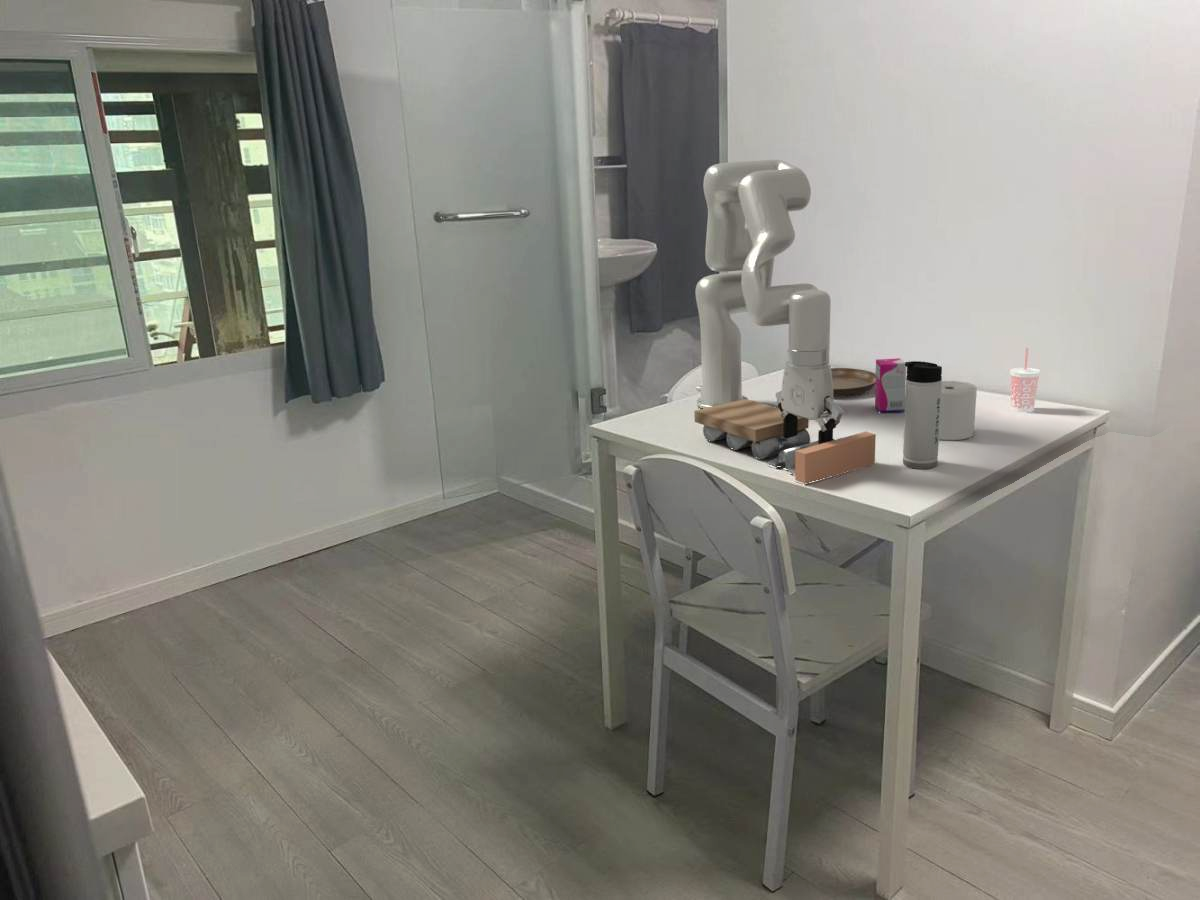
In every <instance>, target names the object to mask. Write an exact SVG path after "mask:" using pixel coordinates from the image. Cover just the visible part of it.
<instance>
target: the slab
mask: <svg viewBox="0 0 1200 900" xmlns="http://www.w3.org/2000/svg"><path fill="white" fill-rule="evenodd" d="M693 414H694V423H698V424H699V425H703V426H704V425H706V426H709V427H712V428H715V429H718V430H721V431H724V432H727V433H730V434H733V435H736V436H739V437H742V438H745V439H748V440H751V441H754V442H758V441H760V440H763V439H767V438H771V437H775V436H778V435H782V434H783V419H784V418H782V417H781V411H780V409H779V407H776V406H773V405H769V404H765V403H762V402H757V401H755V400H754V401H753V400H750V399H748V400H747V399H743V400H738V401H734V402H730V403H726V404H721V405H717V406H713V407H708V408H704V409H702V408H700V409H697V410H694V413H693ZM794 416H796V415H794ZM797 418H798V428H797V430H801V429H806V430H807V429H809V425H810V424H809V419H806V418H802V417H799V416H797Z"/></svg>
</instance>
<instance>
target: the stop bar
mask: <svg viewBox="0 0 1200 900" xmlns="http://www.w3.org/2000/svg"><path fill="white" fill-rule="evenodd" d="M876 436H877V435H876V433H873V432H868V431H862V432H859V433H855V434H852V435H846V436H844V437H840V438H838V439H837V438H836V439H834V440H833V441H829V442H826V443H822V444H818V445H815V446H811V447H808V448H804V449H800V450H797V451H795V476H794V477H795V479H794V480H797V481H799V482H802V483H804V484H805V483H809V482H812V481H816V480H820V479H823V478H827V477H830V476H833V477H835V476H834V475H837V474H840V475H842V474H841V473H843V474H845V473H844V472H847V471H850V472H852V471H851V470H853V471H855V470H854V469H856V470H859V469H858V468H860V469H862V467H863V468H866V467H869V465H870V466H873V465H875V463H876V439H877V438H876ZM865 466H866V467H865ZM847 473H848V472H847ZM837 476H838V475H837ZM830 478H831V477H830ZM827 479H828V478H827ZM823 480H824V479H823ZM820 481H821V480H820Z"/></svg>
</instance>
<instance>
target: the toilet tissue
mask: <svg viewBox="0 0 1200 900" xmlns="http://www.w3.org/2000/svg"><path fill="white" fill-rule="evenodd" d="M941 383H942V386H941V405H940V424H939V441H940V440H944V441H958V440H966V439H969V438H972V437H973V436H974V434H975V422H976V421H975V420H976V406H977V405H976V404H977V391H978V390H977V388H978V387H977V386H976V385H974V384H973V383H969V382H966V381H965V382H964V381H957V380H942V382H941Z"/></svg>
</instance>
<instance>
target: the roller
mask: <svg viewBox="0 0 1200 900" xmlns="http://www.w3.org/2000/svg"><path fill="white" fill-rule="evenodd" d="M833 440H835V438H833ZM815 445H818V440H816V441H813V442H812V441H811V442H810V443H808V444H804V445H801V446H797V447H793V448H790V449H786V450H783V451H781V452H780V453H779V454H778V458H779V463H780V465H781V467H780V468H782V467H783V468H786V469H788V468H790V467H794V466H795V451H797V450H800V449H804V448H808V447H811V446H815ZM783 468H782V469H783Z"/></svg>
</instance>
